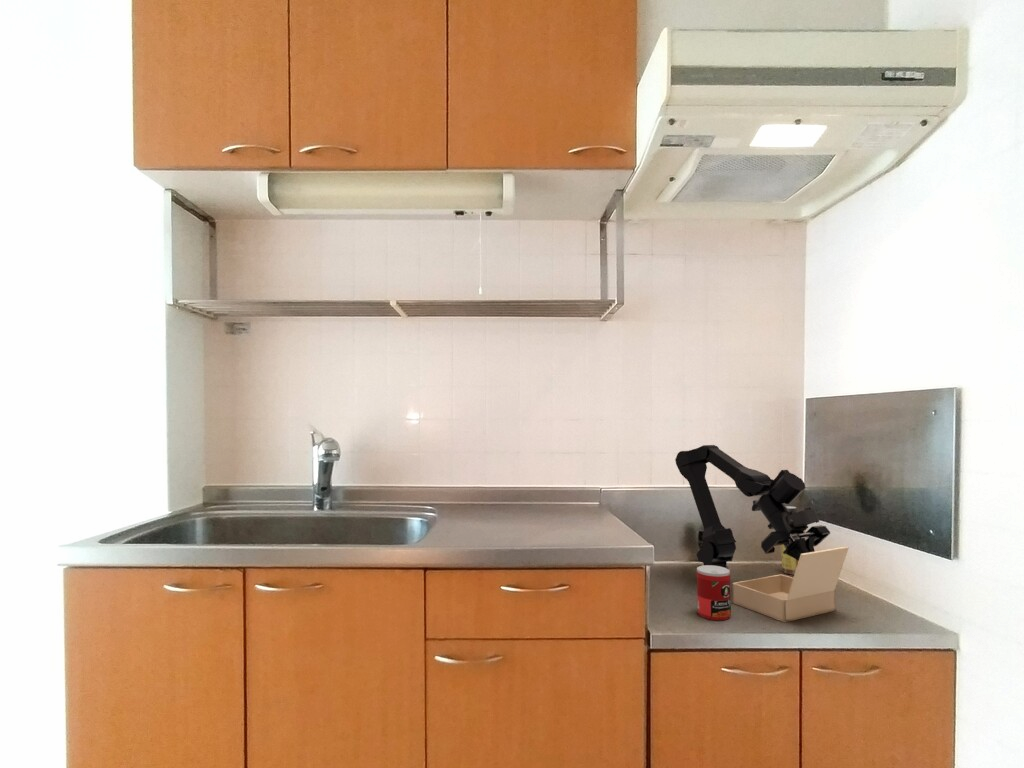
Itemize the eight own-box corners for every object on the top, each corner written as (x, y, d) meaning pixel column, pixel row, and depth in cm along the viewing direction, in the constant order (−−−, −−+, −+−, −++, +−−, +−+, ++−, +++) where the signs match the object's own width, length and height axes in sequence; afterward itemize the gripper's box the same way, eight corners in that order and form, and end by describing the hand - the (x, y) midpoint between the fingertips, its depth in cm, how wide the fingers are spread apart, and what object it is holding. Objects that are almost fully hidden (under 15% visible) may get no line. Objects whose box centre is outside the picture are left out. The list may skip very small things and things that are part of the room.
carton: (732, 602, 154) (731, 583, 154) (781, 592, 162) (781, 574, 162) (784, 622, 140) (783, 600, 140) (836, 610, 147) (835, 589, 148)
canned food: (715, 623, 140) (714, 575, 140) (690, 613, 147) (689, 567, 147) (738, 617, 143) (737, 571, 144) (713, 607, 150) (712, 563, 151)
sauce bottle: (800, 570, 184) (798, 505, 185) (808, 576, 178) (806, 508, 179) (778, 570, 185) (776, 505, 185) (785, 575, 178) (783, 508, 179)
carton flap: (800, 553, 137) (802, 555, 137) (846, 546, 144) (848, 547, 144) (786, 598, 140) (788, 600, 140) (832, 589, 147) (834, 590, 147)
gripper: (769, 498, 143) (811, 555, 133) (822, 493, 151) (865, 546, 141) (744, 525, 150) (782, 581, 140) (796, 519, 158) (835, 571, 148)
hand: (817, 569), depth 142 cm, fingers closed, pressing on carton flap
